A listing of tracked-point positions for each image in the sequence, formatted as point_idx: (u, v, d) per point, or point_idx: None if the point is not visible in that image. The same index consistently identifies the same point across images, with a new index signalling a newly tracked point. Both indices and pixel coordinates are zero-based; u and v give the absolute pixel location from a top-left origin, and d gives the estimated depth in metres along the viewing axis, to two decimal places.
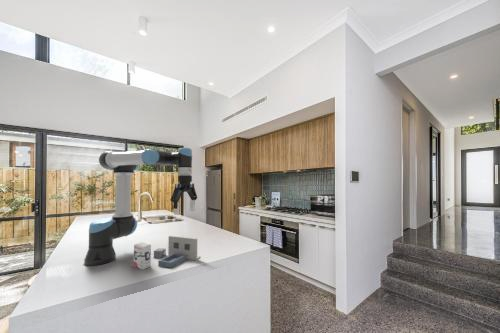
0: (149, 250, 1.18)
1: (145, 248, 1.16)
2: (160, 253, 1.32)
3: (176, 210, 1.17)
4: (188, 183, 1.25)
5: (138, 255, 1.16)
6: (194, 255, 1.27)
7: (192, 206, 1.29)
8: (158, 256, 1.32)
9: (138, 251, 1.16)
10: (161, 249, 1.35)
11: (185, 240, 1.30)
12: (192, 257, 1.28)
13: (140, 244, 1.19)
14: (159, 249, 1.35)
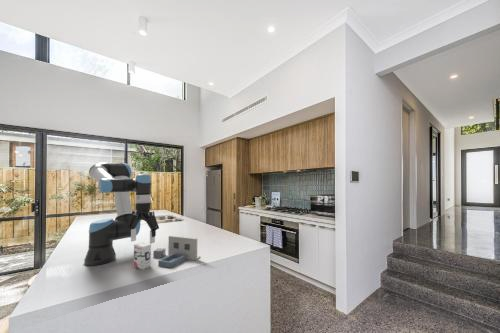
0: (149, 250, 1.18)
1: (145, 248, 1.16)
2: (160, 253, 1.32)
3: None
4: (143, 211, 1.18)
5: (138, 255, 1.16)
6: (194, 255, 1.27)
7: None
8: (158, 256, 1.32)
9: (138, 251, 1.16)
10: (161, 249, 1.35)
11: (185, 240, 1.30)
12: (192, 257, 1.28)
13: (140, 244, 1.19)
14: (159, 249, 1.35)
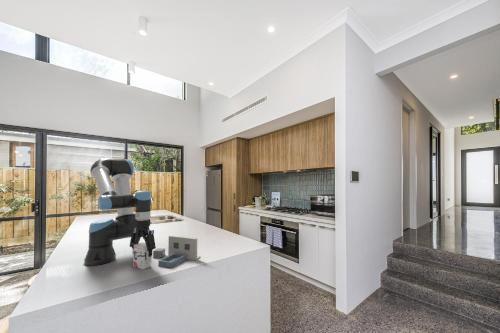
0: None
1: (145, 248, 1.16)
2: (159, 253, 1.32)
3: None
4: (143, 228, 1.18)
5: (138, 255, 1.16)
6: (194, 255, 1.27)
7: None
8: (157, 256, 1.32)
9: (138, 251, 1.16)
10: (160, 249, 1.35)
11: (185, 240, 1.30)
12: (192, 257, 1.28)
13: (140, 244, 1.19)
14: (158, 249, 1.35)
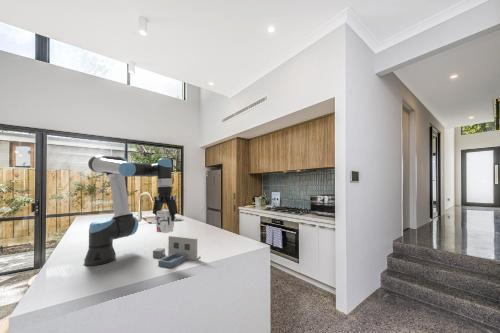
0: None
1: (168, 213, 1.20)
2: (159, 253, 1.32)
3: None
4: (166, 194, 1.22)
5: (161, 220, 1.20)
6: (194, 255, 1.27)
7: None
8: (157, 256, 1.32)
9: (161, 216, 1.20)
10: (160, 249, 1.35)
11: (185, 240, 1.30)
12: (192, 257, 1.28)
13: (162, 210, 1.23)
14: (158, 249, 1.35)
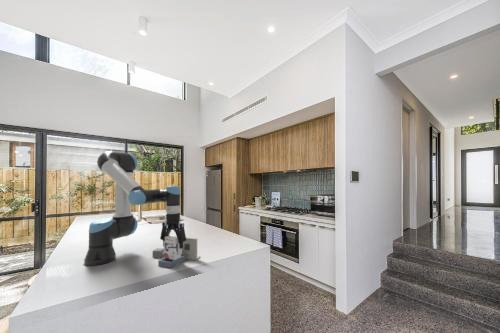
0: None
1: (176, 240, 1.21)
2: (159, 253, 1.32)
3: None
4: (174, 221, 1.23)
5: (170, 247, 1.21)
6: (194, 255, 1.27)
7: None
8: (157, 256, 1.32)
9: (169, 243, 1.21)
10: (160, 249, 1.35)
11: None
12: (192, 257, 1.28)
13: (170, 236, 1.24)
14: (158, 249, 1.35)
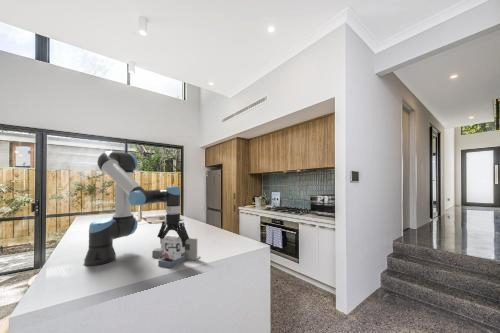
0: (179, 241, 1.23)
1: (176, 240, 1.21)
2: (159, 253, 1.32)
3: None
4: (174, 222, 1.23)
5: (170, 247, 1.21)
6: (194, 255, 1.27)
7: None
8: (157, 256, 1.32)
9: (169, 243, 1.21)
10: (160, 249, 1.35)
11: None
12: (192, 257, 1.28)
13: (170, 236, 1.24)
14: (158, 249, 1.35)
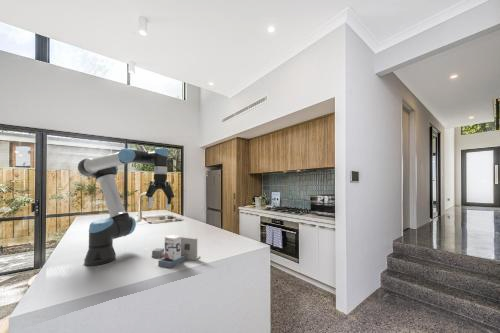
0: (179, 241, 1.23)
1: (176, 240, 1.21)
2: (158, 253, 1.32)
3: None
4: (160, 181, 1.31)
5: (170, 247, 1.21)
6: (194, 255, 1.27)
7: None
8: (156, 256, 1.32)
9: (169, 243, 1.21)
10: (159, 249, 1.35)
11: (185, 240, 1.30)
12: (192, 257, 1.28)
13: (170, 236, 1.24)
14: (157, 249, 1.35)
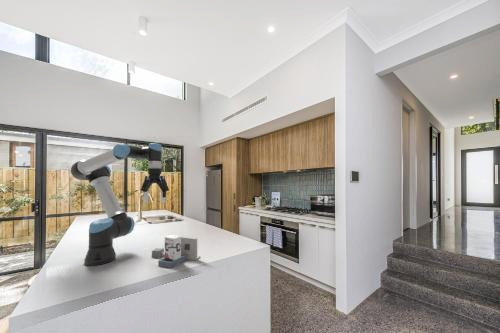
0: (179, 241, 1.23)
1: (176, 240, 1.21)
2: (158, 253, 1.32)
3: None
4: (155, 175, 1.35)
5: (170, 247, 1.21)
6: (194, 255, 1.27)
7: None
8: (156, 256, 1.32)
9: (169, 243, 1.21)
10: (159, 249, 1.35)
11: (185, 240, 1.30)
12: (192, 257, 1.28)
13: (170, 236, 1.24)
14: (157, 249, 1.35)
